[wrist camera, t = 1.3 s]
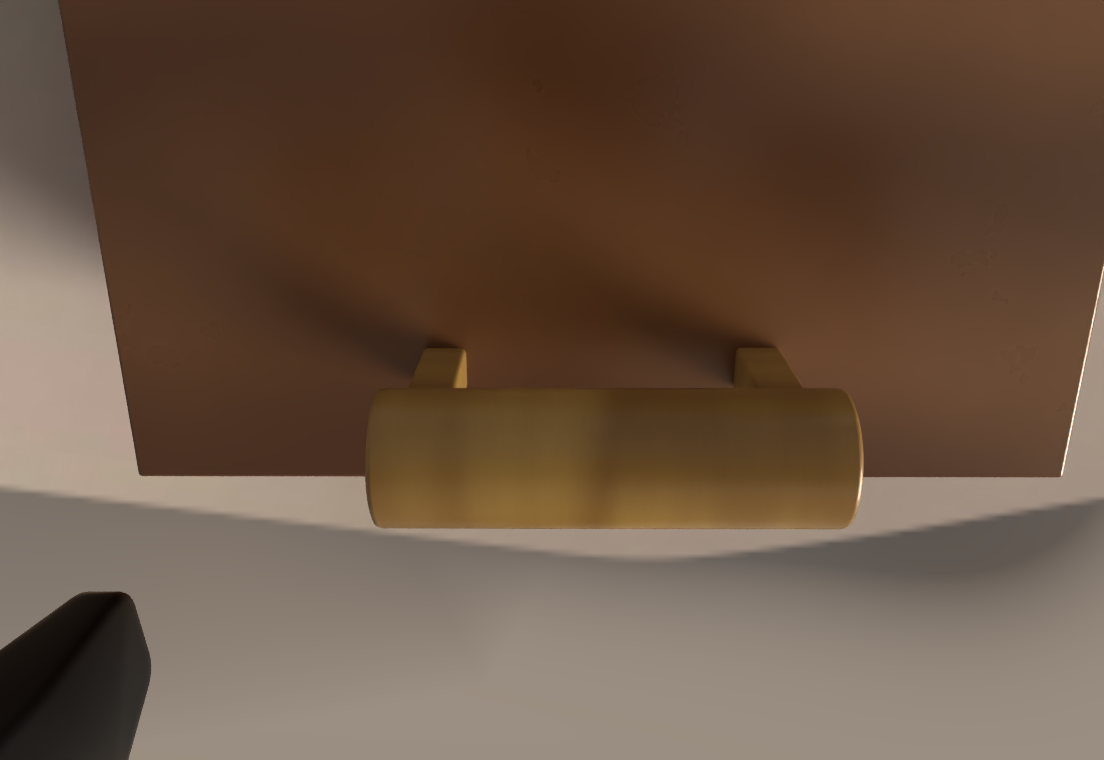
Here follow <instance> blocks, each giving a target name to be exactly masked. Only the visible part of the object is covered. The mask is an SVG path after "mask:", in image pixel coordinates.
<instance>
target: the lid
mask: <svg viewBox="0 0 1104 760" xmlns="http://www.w3.org/2000/svg"><path fill="white" fill-rule="evenodd" d="M58 3H59V9H60V14H61V20H62V26H63V32H64V38H65V44H66V50H67V55H68V61H69V67H70V73H71V79H72V85H73V90H74V96H75V102H76V108H77V114H78V120H79V126H80V131H81V137H82V143H83V149H84V155H85V161H86V167H87V172H88V178H89V184H90V190H91V196H92V202H93V207H94V213H95V219H96V225H97V231H98V237H99V243H100V248H101V254H102V260H103V266H104V272H105V278H106V283H107V289H108V295H109V301H110V307H111V313H112V319H113V324H114V330H115V336H116V342H117V348H118V354H119V360H120V365H121V371H122V377H123V383H124V389H125V395H126V400H127V406H128V412H129V418H130V424H131V430H132V436H133V441H134V447H135V453H136V459H137V465H138V471H139V474H140V475H141V476H365V481H366V494H367V501H368V507H369V511H370V514H371V517H372V520H373V522H374V524H375V525H376V526H378V527H380V528H502V529H843V528H845V527H848V526H849V525H850V524H851V523H852V522H853V520H854V518H855V516H856V513H857V510H858V507H859V503H860V498H861V493H862V486H863V477H1061V476H1062V475H1063V471H1064V466H1065V461H1066V456H1067V451H1068V446H1069V441H1070V437H1071V432H1072V427H1073V422H1074V417H1075V412H1076V407H1077V402H1078V397H1079V392H1080V388H1081V383H1082V378H1083V373H1084V368H1085V363H1086V358H1087V353H1088V348H1089V343H1090V339H1091V334H1092V329H1093V324H1094V319H1095V314H1096V309H1097V304H1098V299H1099V294H1100V290H1101V285H1102V280H1103V275H1104V0H58Z"/></svg>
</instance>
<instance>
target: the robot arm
mask: <svg viewBox="0 0 1104 760" xmlns="http://www.w3.org/2000/svg"><path fill="white" fill-rule="evenodd" d="M150 676H151V659H150V654H149V651H148V647H147V644H146V641H145V637H144V634H143V630H142V627H141V624H140V620H139V617H138V614H137V610H136V607H135V604H134V602H133V600H132V599H131V597H130V596H129V595H128V594H126V593H123V592H83V593H80V594H78V595H76V596H74V597H73V598H71V599H70V600H68V601H67V602H66V603H64V604H63V605H62V606H60V607H59V608H57V609H56V610H55V611H53V612H52V613H50V614H49V615H48V616H46V617H45V618H44V619H42V620H41V621H40V622H38V623H37V624H35V625H34V626H33V627H31V628H30V629H29V630H27V631H26V632H25V633H23V634H22V635H20V636H19V637H18V638H16V639H15V640H13V641H12V642H11V643H9V644H8V645H7V646H5V647H4V648H2V649H1V650H0V760H128V758H129V755H130V751H131V748H132V744H133V740H134V737H135V733H136V730H137V726H138V722H139V718H140V715H141V711H142V708H143V704H144V700H145V697H146V694H147V690H148V686H149V682H150Z"/></svg>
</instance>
